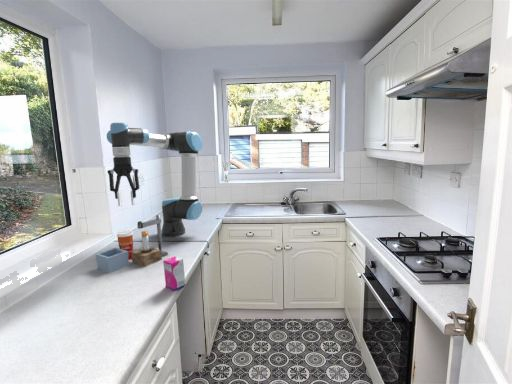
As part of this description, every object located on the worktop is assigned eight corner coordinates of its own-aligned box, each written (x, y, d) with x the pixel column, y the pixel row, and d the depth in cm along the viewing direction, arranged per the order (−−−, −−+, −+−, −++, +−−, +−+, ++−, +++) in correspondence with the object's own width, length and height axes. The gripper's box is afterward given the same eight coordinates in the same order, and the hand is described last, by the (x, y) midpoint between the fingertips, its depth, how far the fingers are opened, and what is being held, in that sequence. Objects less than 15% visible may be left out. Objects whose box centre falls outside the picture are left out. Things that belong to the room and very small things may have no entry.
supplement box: (177, 281, 124) (175, 255, 122) (185, 285, 120) (184, 258, 118) (165, 286, 120) (162, 260, 118) (173, 291, 116) (171, 263, 114)
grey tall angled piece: (160, 251, 156) (157, 214, 153) (163, 252, 154) (161, 215, 151) (139, 259, 145) (136, 220, 142) (142, 260, 144) (139, 220, 141)
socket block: (149, 255, 154) (148, 246, 154) (161, 259, 149) (161, 249, 148) (132, 262, 146) (131, 252, 145) (144, 266, 141) (144, 256, 140)
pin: (147, 259, 150) (145, 230, 147) (151, 260, 148) (149, 231, 146) (142, 261, 147) (140, 232, 145) (146, 262, 145) (144, 233, 143)
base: (161, 252, 158) (161, 250, 158) (168, 254, 155) (167, 252, 155) (153, 255, 154) (153, 253, 154) (160, 257, 151) (160, 255, 151)
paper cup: (117, 262, 146) (115, 235, 144) (120, 256, 154) (117, 230, 152) (134, 260, 148) (132, 233, 146) (136, 255, 156) (134, 229, 154)
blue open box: (117, 261, 148) (115, 247, 147) (129, 265, 143) (127, 251, 141) (97, 268, 140) (95, 254, 139) (109, 272, 134) (107, 258, 133)
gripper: (98, 157, 133) (103, 207, 137) (141, 156, 137) (145, 205, 141) (103, 156, 141) (108, 204, 144) (143, 155, 144) (147, 202, 148)
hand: (126, 204), depth 142 cm, fingers open, 5 cm apart
